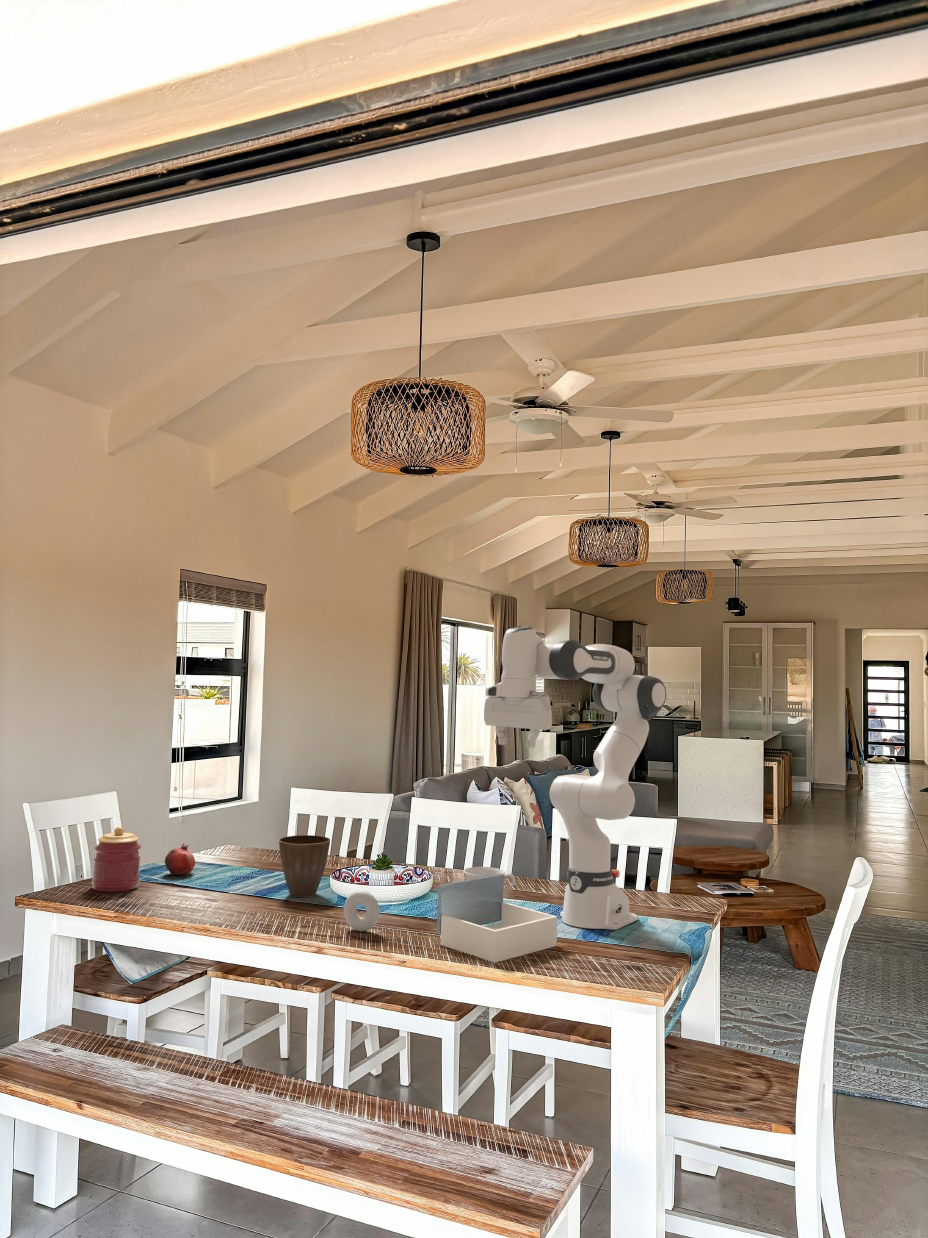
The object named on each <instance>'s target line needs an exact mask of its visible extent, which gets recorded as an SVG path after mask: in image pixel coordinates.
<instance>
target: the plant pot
mask: <svg viewBox="0 0 928 1238" xmlns="http://www.w3.org/2000/svg"><path fill="white" fill-rule="evenodd" d="M330 844H331V838H330V837H327V836H321V835H311V834H310V835H309V834H308V835H307V834H304V835H303V834H301V835H299V834H298V835H289V836H288V835H287V836H284V837H281V838H279V840H278V845H279V854H280V859H281V862H280V863H281V866H282V867H281V868H282V871H283V875H284V879H285V883H286V886H287V889H288V892H289V895H290V896H291V897H294V898H310V897H311V898H312V897H314V896H315V895H317V891H318V890H319V886H320V884H321V881H322V879H323V875H324V872H325V868H326V866H327V865H326V863H327V861H328V855H329V850H330Z"/></svg>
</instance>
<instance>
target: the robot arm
mask: <svg viewBox="0 0 928 1238" xmlns="http://www.w3.org/2000/svg"><path fill="white" fill-rule="evenodd" d="M501 665H502V673H501V677H500V682H499V683H496V684H494V685H492V686H488V687H487V688H486V689H485V696H486V699H485V702H484V708H483V721H484V723H485V726H489V727H490V726H491V727H492V726H493V727H494V728H495V730H494V731H495V733H496V736H497V739H498V745H499V746H500V745H501V746H507V745H508V737H506V736H505V733H504V731H505V729H506V728H513V729H514V728H515V729H516V728H517V729H526V730H527V729H528V730H529V734H530V737H529V738H528V739H527V740H525V741H526V745H525V746H526V748H530V749H534V748H536V741H537V739H538V737H539V735H540V733H541V732H540V731H541V730H542V731H543V730H544V731H547V730H550V729H551V728H552V725H553V714H552V708H551V707H552V706H551V697H550V695H549V694H548V693H547V692H545V691H537V679H545V680H547V679H548V680H564V681H565V680H567V681H576V680H579V679H583V680H585V681H586V682H590V683H593V684H594V685H593V688H592V699H593V702H594V703H595V704H594V705H595V706H596V707H597V708H598V709H600V710H602V711H605V712H609V713H611V712H614V713H617V714H616V719H615V721H613V723H612V724H611V726H610V727H609V728H608V730H607V731H606V733H605V734H604V736H603V738H602V739H601V741H600V742H599V743H598V745H597V747H596V749H595V751H594V752H593V758H592V759H593V764H594V767H595V768H596V769H597V770H598V772H597V773H596V774H595V775H592V776H591V775H584V774H583V775H582V774H575V773H574V774H573V773H571V774H564V775H559V776H557V777H556V778H554V779H553V781H552V783H551V784H550V789H549V799H550V803H551V805H552V806H553V807H554V808H555V810H557V812H558V813H559V814H560V817H561V819H562V820H563V823H564V826H565V829H566V832H567V837H568V847H569V848H568V849H569V851H568V853H569V855H568V856H569V857H568V858H569V859H568V864H569V865H568V867H567V871H566V881H567V882H568V883H567V884H566V886H565V889H564V890H565V891H564V897H563V907H562V910H561V911H560V914H559V916H560V917H561V921H562V923H564V924H566V925H569V926H573V927H578V928H582V929H601V930H603V929H605V930H618V929H621V928H623V927H625V926H627V925H630V924H631V923H634V922H635V921H638V920H639V916H638V915H637V914H636V913H634V912H630V900H629V897H628V896H627V894H626V893H625V892H623V890H622V889H620V888H619V887H618V885H616V883H615V880H614V878H616V879H617V878H619V877H620V875H621V873H620V870H619V869H611V846H612V845H611V841H610V838H609V836H607V835H606V834H605V833H604V832H603V831H602V830H601V828H600V826H599V824H598V821H597V819H599V820H607V821H613V820H615V821H616V820H623V819H626V818H628V817H629V816H630V815H631V814H632V812H633V810H634V807H635V804H636V797H635V793H634V790H633V788H632V786H631V785H630V784H629V776H630V774H631V772H632V769H633V767H634V765H635V763H636V762H637V759H638V757H639V756H640V754H641V753H642V750H643V748H644V746H645V743H646V741H647V738H648V735H649V731H650V724H649V722H648V721H651V720H653V719H655V718H656V717H657V715H658V713H659V712H660V711H661V710H662V709H663V707H664V705H665V704H666V700H667V689H666V686H665V684H664V682H663V681H662V679H660V678H658V677H655V676H651V675H641V674H640V675H639V674H634V671H635V666H636V665H635V659H634V657H633V655H632V653H631V652H629V651H628V650H627V649H624V648H621V647H619V646H617V645H611V644H605V643H594V644H588V645H586V646H585V645H583V644H582V643H581V642H579V641H578V640H574V639H571V640H570V639H569V640H557V641H556V640H555V641H554V640H553V641H552V640H550V641H549V640H548V641H547V640H544V639H543V638H541V637H540V636H539V635H538V634H537V633H536V629H535V627H532V626H516V627H511V628H508V629H507V630H506V631H505V633H504V636H503V641H502V649H501Z"/></svg>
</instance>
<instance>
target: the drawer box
mask: <svg viewBox="0 0 928 1238" xmlns="http://www.w3.org/2000/svg"><path fill="white" fill-rule="evenodd" d="M557 940H558V916H556V915H554V914H553V915H552V914H550V913H545V912H541V911H538V910H535V909H531V908H529V907H528V908H527V907H524V906H519V905H516V904H513V903H509V902H505V901H503V902H502V912H501V921H499V922H498V923H497V922H495V923H491V924H489V925H488V924H486V925H477V924H473V923H470V922H467V921H464V920H460V919H457V918H454V917H450V916H447V915H441V935H440V946H443V947H446V948H449V949H452V950H456V951H457V952H460V951H461V952H460V953H463V952H464V954H466V953H467V955H469V954H470V956H472V955H474V956H473V957H475V956H477V957H476V958H478V957H479V958H478V959H481V958H482V959H481V960H484V959H485V960H484V961H487V960H488V961H487V962H490V961H491V963H493V962H494V963H493V964H496V963H499V961H500V962H502V961H506V960H510V958H511V959H513V958H517V957H522V956H526V955H528V954H533V953H535V952H539V951H543V950H546V949H550V948H551V949H552V948H555V947H557V945H558V941H557Z"/></svg>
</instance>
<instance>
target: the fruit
mask: <svg viewBox="0 0 928 1238" xmlns="http://www.w3.org/2000/svg"><path fill="white" fill-rule="evenodd" d="M188 848H189V845H188V844H187V845H185V843H183V844H182V845H181V847H178V848H174V849H171V850H170V851H168V853H167V855H165V858H164V866H165V868H166V869H167V871H168V872H169V876H171V877H172V876H188V875H190V874H191V873H192V872H193V870H194V868H195V866H196V858H195V855H194V854H193V852H191V850H189V849H188Z"/></svg>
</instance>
